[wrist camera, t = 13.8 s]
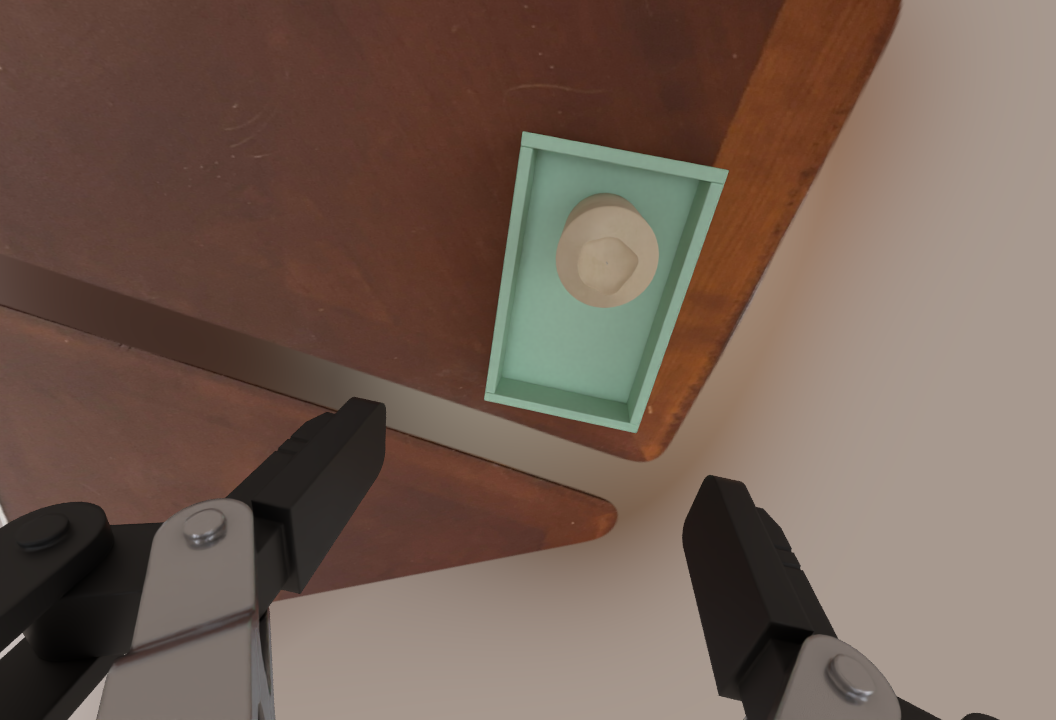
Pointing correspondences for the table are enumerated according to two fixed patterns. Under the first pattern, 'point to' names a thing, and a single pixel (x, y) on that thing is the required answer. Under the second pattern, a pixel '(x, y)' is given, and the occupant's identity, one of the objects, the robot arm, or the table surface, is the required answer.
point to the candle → (606, 252)
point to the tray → (574, 327)
